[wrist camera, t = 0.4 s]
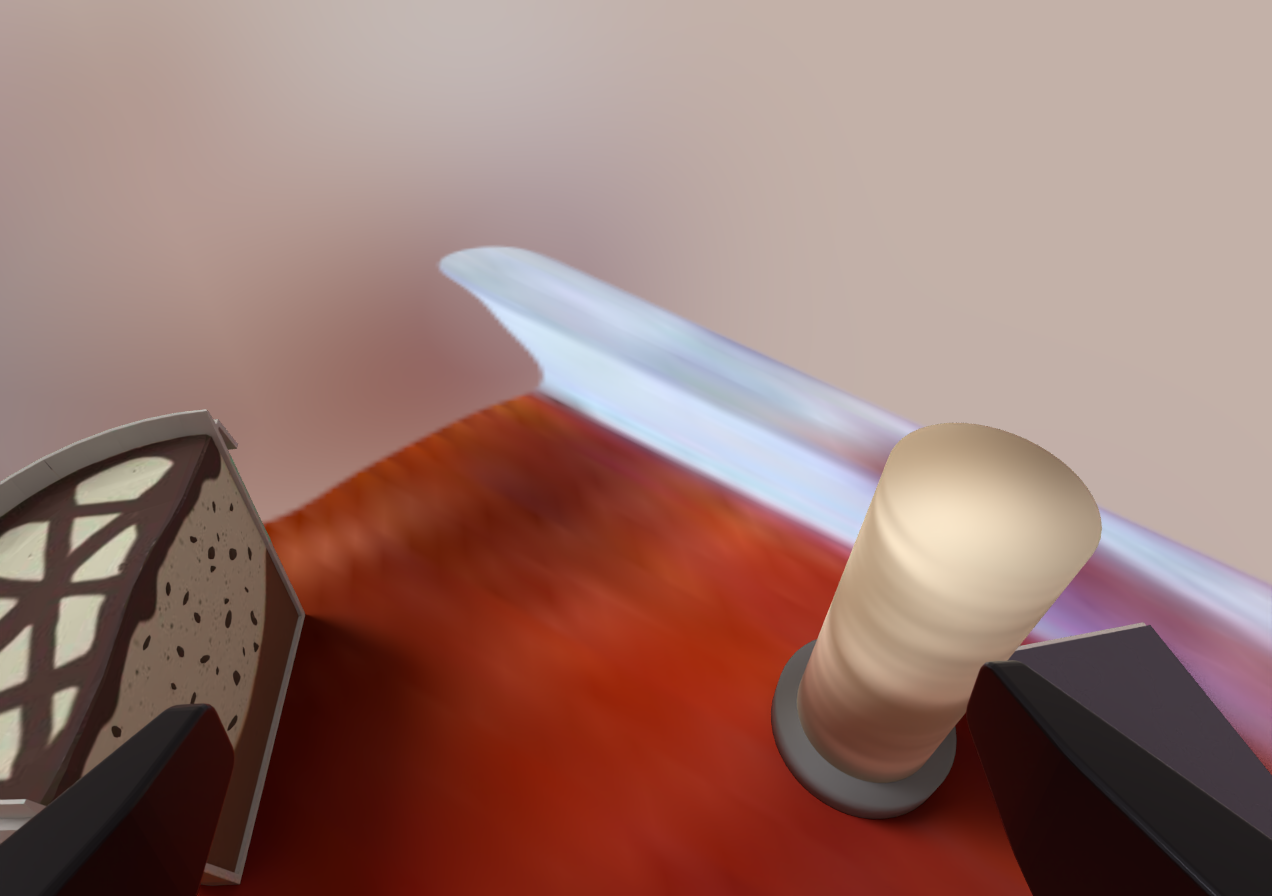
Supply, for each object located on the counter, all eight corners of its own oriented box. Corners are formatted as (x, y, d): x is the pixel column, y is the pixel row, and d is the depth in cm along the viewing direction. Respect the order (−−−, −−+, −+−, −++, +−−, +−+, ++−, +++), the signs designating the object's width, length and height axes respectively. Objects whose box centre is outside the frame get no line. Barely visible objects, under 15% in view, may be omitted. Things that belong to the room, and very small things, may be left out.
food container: (154, 596, 28) (-3, 410, 21) (313, 582, 29) (212, 397, 22) (-7, 974, 19) (-367, 877, 12) (225, 943, 20) (9, 834, 13)
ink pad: (1309, 851, 22) (1337, 840, 21) (1086, 909, 21) (1106, 900, 20) (1135, 630, 28) (1151, 614, 27) (950, 665, 26) (962, 649, 26)
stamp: (978, 798, 23) (1203, 581, 14) (807, 836, 22) (934, 630, 13) (896, 638, 27) (1031, 391, 18) (748, 664, 26) (815, 419, 17)
